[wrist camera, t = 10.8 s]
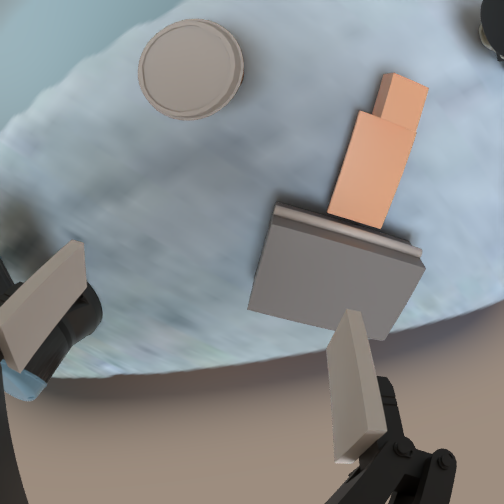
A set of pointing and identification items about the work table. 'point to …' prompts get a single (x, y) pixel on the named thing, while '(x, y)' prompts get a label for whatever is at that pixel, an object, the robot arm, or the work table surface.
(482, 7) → the ball valve
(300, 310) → the block
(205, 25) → the disposable coffee cup
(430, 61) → the work table surface
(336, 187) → the orange stepped block
